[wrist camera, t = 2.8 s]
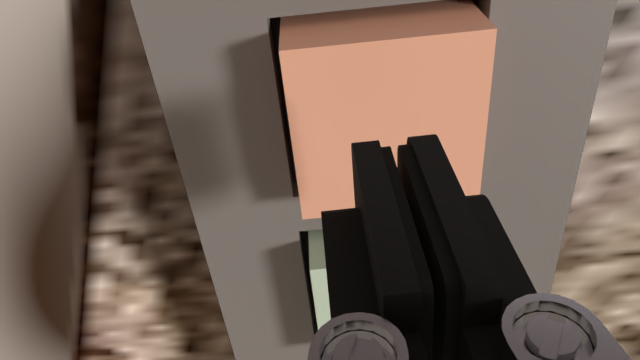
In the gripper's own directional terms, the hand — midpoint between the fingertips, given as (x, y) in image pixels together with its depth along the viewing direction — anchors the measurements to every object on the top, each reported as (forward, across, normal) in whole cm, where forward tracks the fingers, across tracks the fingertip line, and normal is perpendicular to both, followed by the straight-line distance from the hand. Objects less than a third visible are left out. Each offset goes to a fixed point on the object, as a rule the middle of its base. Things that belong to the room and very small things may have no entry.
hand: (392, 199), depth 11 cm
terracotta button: (+6, 0, 0) cm, 6 cm away
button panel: (+8, 0, +7) cm, 11 cm away
